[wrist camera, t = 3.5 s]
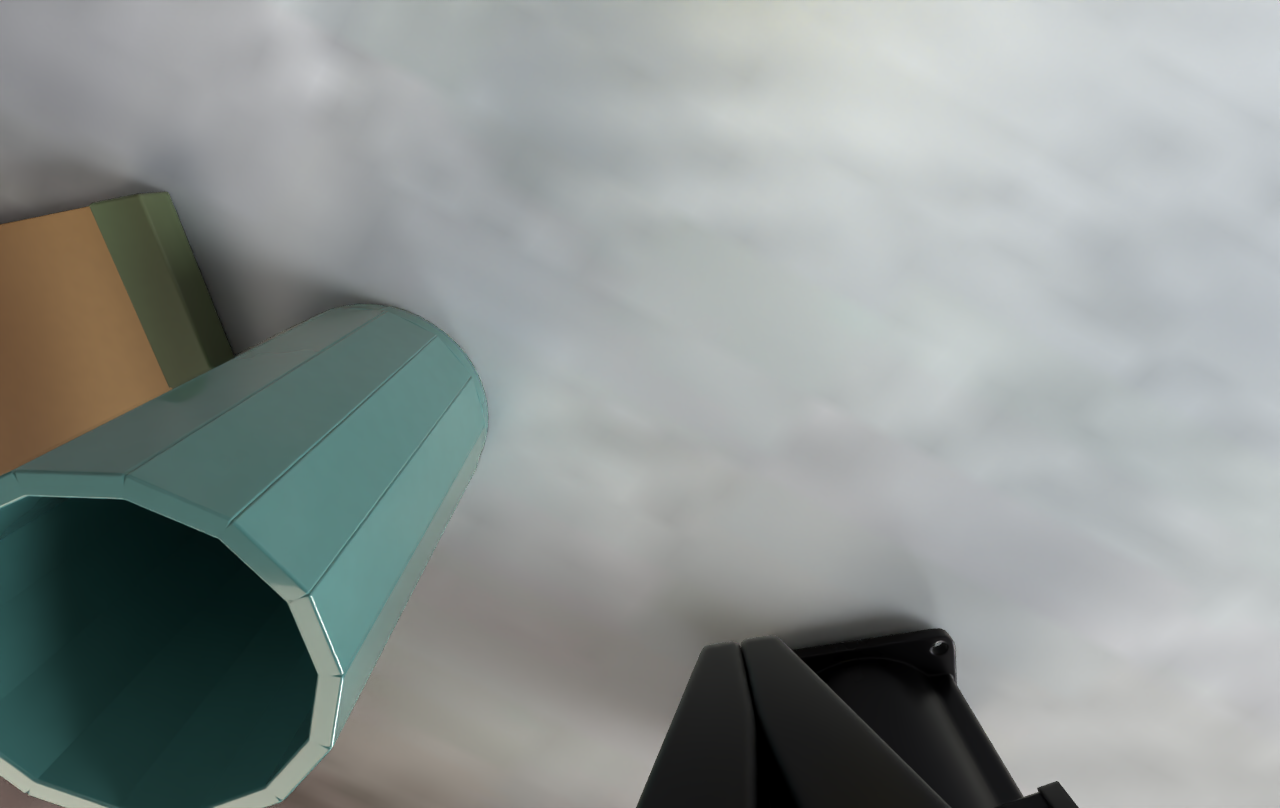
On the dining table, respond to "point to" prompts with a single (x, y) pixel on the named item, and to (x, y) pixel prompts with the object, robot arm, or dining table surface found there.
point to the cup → (227, 564)
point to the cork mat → (96, 318)
